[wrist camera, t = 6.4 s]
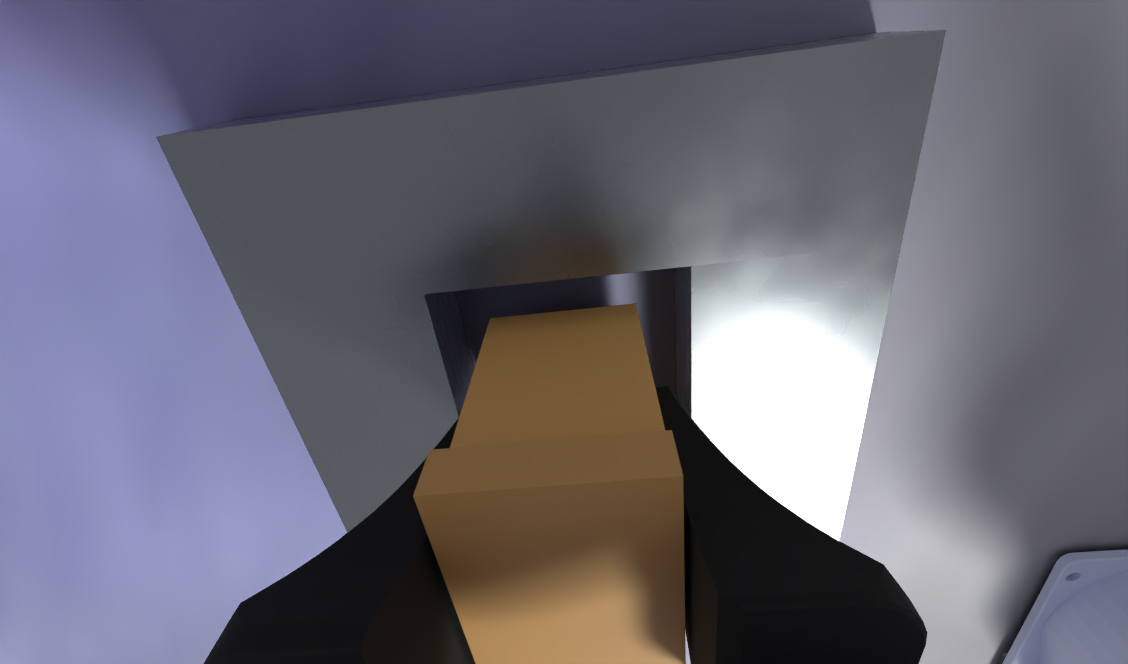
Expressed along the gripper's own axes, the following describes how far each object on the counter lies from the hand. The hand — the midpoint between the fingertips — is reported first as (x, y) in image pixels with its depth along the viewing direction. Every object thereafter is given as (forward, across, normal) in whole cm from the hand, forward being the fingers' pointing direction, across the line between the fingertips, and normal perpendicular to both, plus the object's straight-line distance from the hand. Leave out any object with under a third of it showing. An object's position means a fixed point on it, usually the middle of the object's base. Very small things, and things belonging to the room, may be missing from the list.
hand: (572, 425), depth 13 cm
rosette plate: (+3, 0, 0) cm, 3 cm away
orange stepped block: (+2, 0, 0) cm, 2 cm away
